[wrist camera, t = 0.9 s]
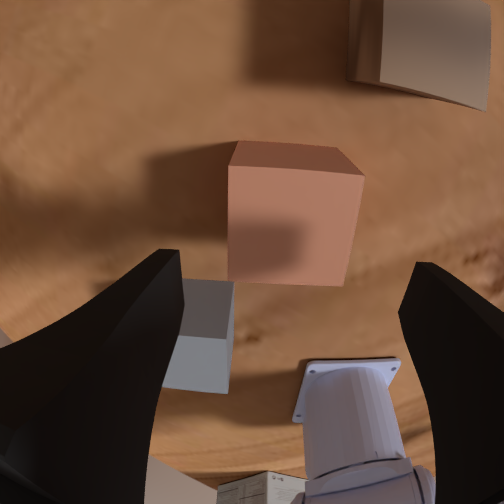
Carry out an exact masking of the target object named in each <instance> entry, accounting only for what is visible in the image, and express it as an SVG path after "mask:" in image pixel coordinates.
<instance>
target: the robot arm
mask: <svg viewBox="0 0 504 504" xmlns="http://www.w3.org/2000/svg"><path fill="white" fill-rule="evenodd" d="M184 307H185V301H184V293H183V283H182V274H181V263H180V252H179V250H174V249H158V250H157V251H155V252H154V253H152V254H151V255H150V256H148V257H147V258H146V259H144V260H143V261H142V262H141V263H139V264H138V265H137V266H136V267H134V268H133V269H132V270H130V271H129V272H128V273H126V274H125V275H124V276H123V277H121V278H120V279H119V280H117V281H116V282H115V283H113V284H112V285H111V286H109V287H108V288H106V289H105V290H104V291H102V292H101V293H99V294H98V295H97V296H95V297H94V298H93V299H91V300H90V301H88V302H87V303H85V304H84V305H82V306H81V307H79V308H78V309H76V310H75V311H73V312H71V313H70V314H68V315H66V316H65V317H63V318H61V319H60V320H58V321H56V322H54V323H53V324H51V325H49V326H47V327H45V328H43V329H41V330H39V331H37V332H35V333H33V334H31V335H29V336H27V337H25V338H23V339H21V340H19V341H17V342H14V343H12V344H10V345H8V346H5V347H3V348H0V504H144V494H145V493H144V492H145V481H146V471H147V462H148V454H149V447H150V440H151V433H152V428H153V422H154V416H155V411H156V406H157V402H158V398H159V394H160V391H161V388H162V385H163V382H164V378H165V375H166V372H167V369H168V366H169V363H170V360H171V357H172V354H173V351H174V348H175V345H176V342H177V339H178V336H179V332H180V327H181V322H182V317H183V312H184ZM398 314H399V319H400V323H401V328H402V332H403V335H404V339H405V342H406V345H407V347H408V350H409V353H410V355H411V358H412V361H413V364H414V366H415V369H416V372H417V374H418V377H419V380H420V383H421V386H422V388H423V391H424V394H425V398H426V401H427V405H428V410H429V415H430V420H431V426H432V432H433V441H434V450H435V466H436V484H435V481H434V478H433V476H432V474H431V472H430V471H429V470H428V469H426V468H424V467H423V466H421V465H417V466H414V467H413V466H412V462H411V458H410V457H408V458H406V456H405V452H404V448H403V443H402V439H401V435H400V431H399V427H398V423H397V420H396V416H395V412H394V408H393V405H392V401H391V398H390V394H389V391H388V386H389V385H390V383H391V381H392V379H393V378H394V376H395V374H396V372H397V370H398V369H399V367H400V365H401V361H400V359H399V358H389V359H369V360H331V361H310V362H309V363H307V366H306V370H305V373H304V377H303V381H302V385H301V388H300V392H299V396H298V399H297V403H296V406H295V410H294V413H293V417H292V421H293V422H295V423H303V438H304V454H305V470H306V475H307V477H308V479H309V481H305V492H300V493H298V494H297V495H296V497H295V498H294V499H293V500H292V502H291V503H290V504H504V312H502V311H501V310H500V309H498V308H497V307H495V306H494V305H493V304H491V303H490V302H488V301H487V300H486V299H484V298H483V297H482V296H480V295H479V294H478V293H476V292H475V291H474V290H472V289H471V288H470V287H468V286H467V285H466V284H464V283H463V282H462V281H460V280H459V279H457V278H456V277H455V276H453V275H452V274H450V273H449V272H447V271H446V270H444V269H443V268H441V267H439V266H438V265H436V264H434V263H432V262H416V264H415V267H414V270H413V273H412V276H411V279H410V281H409V284H408V287H407V290H406V292H405V295H404V298H403V300H402V303H401V306H400V308H399V311H398Z"/></svg>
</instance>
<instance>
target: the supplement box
mask: <svg viewBox="0 0 504 504" xmlns="http://www.w3.org/2000/svg"><path fill="white" fill-rule="evenodd" d="M305 481H309V480H306V479H301V478H296V477H292V476H287V475H283V474H278V473H274V472H270V471H267V472H264V473H261V474H258V475H255V476H252V477H248V478H245V479H241V480H238V481H234V482H231V483H227V484H223V485H219V486H218V492H217V503H216V504H290V503H291V502H292V500H293V499H294V498H295V497H296V495H297V494H298V493H300V492H305Z"/></svg>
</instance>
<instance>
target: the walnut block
mask: <svg viewBox="0 0 504 504" xmlns="http://www.w3.org/2000/svg"><path fill="white" fill-rule="evenodd" d="M490 57H491V13H490V5H488V4H486V3H484V2H482V1H480V0H350V1H349V32H348V52H347V68H346V80H347V81H353V82H359V83H365V84H371V85H376V86H381V87H386V88H390V89H395V90H399V91H404V92H408V93H412V94H416V95H420V96H424V97H427V98H431V99H436V100H440V101H445V102H449V103H453V104H457V105H462V106H465V107H469V108H473V109H477V110H480V111H484V112H486V106H487V97H488V87H489V75H490Z"/></svg>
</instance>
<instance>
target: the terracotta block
mask: <svg viewBox="0 0 504 504" xmlns="http://www.w3.org/2000/svg"><path fill="white" fill-rule="evenodd" d="M364 179H365V175H364V174H363V173H362V172H361V171H360V170H359V169H358V168H357V167H356V166H355V165H354V164H353V163H352V162H351V161H350V160H349V159H348V158H347V157H346V156H345V155H344V154H343V153H342V152H341V151H340V150H339V149H338V148H334V147H325V146H315V145H303V144H291V143H276V142H258V141H238V144H237V146H236V148H235V151H234V153H233V156H232V158H231V161H230V163H229V166H228V281H234V282H253V283H273V284H295V285H321V286H343V283H344V279H345V274H346V270H347V266H348V261H349V257H350V252H351V248H352V243H353V238H354V233H355V229H356V224H357V218H358V213H359V208H360V202H361V197H362V191H363V185H364Z"/></svg>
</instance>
